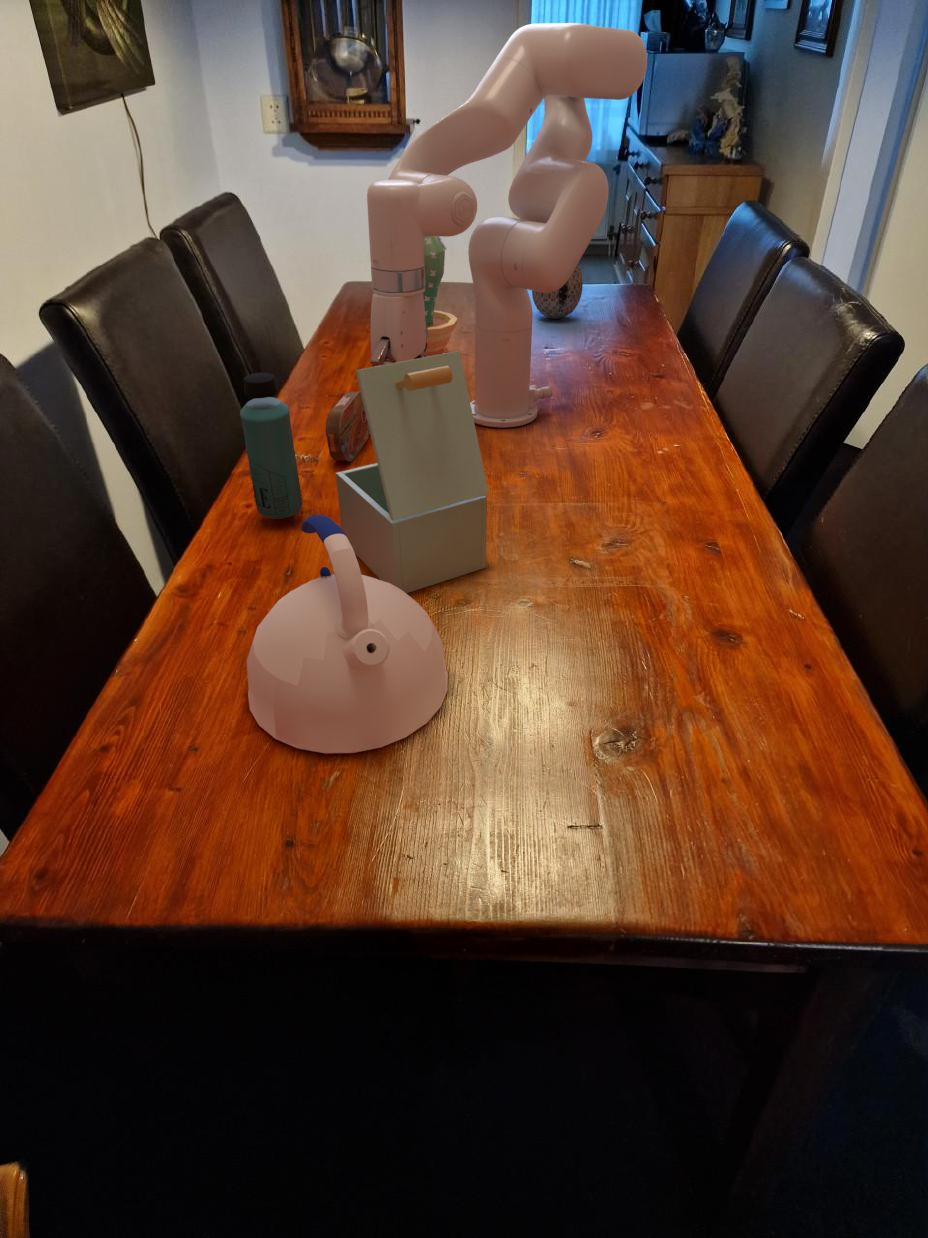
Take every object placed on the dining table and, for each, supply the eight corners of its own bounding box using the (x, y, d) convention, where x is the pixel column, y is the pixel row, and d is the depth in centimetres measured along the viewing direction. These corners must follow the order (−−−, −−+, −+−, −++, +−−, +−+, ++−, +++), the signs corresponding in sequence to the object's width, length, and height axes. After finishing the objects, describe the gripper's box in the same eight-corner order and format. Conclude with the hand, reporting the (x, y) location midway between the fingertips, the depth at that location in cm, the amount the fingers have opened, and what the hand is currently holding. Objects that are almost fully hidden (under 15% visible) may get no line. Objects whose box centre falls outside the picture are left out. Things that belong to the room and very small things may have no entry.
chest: (342, 540, 108) (335, 472, 102) (425, 517, 113) (423, 451, 107) (396, 596, 97) (392, 523, 91) (486, 567, 102) (487, 497, 96)
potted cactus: (472, 361, 168) (473, 229, 153) (408, 375, 161) (402, 238, 146) (432, 343, 178) (429, 217, 164) (370, 355, 171) (361, 225, 157)
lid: (355, 370, 87) (372, 363, 83) (456, 351, 92) (478, 344, 88) (390, 520, 91) (409, 521, 87) (485, 493, 97) (507, 493, 92)
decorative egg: (526, 312, 198) (529, 245, 190) (574, 310, 200) (578, 244, 191) (535, 325, 189) (538, 256, 180) (585, 323, 190) (590, 254, 181)
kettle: (274, 785, 72) (241, 619, 62) (231, 653, 88) (199, 503, 77) (481, 722, 79) (484, 562, 68) (407, 610, 94) (400, 466, 84)
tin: (345, 470, 125) (340, 418, 121) (326, 469, 126) (320, 416, 121) (373, 433, 137) (370, 384, 133) (355, 431, 138) (351, 382, 133)
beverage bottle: (313, 511, 115) (295, 369, 103) (290, 533, 109) (269, 387, 98) (272, 504, 116) (250, 364, 105) (247, 525, 111) (222, 381, 100)
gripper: (400, 265, 123) (404, 377, 133) (345, 290, 110) (354, 413, 119) (446, 269, 121) (447, 383, 130) (396, 296, 107) (401, 420, 117)
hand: (403, 397), depth 125 cm, fingers open, 9 cm apart
